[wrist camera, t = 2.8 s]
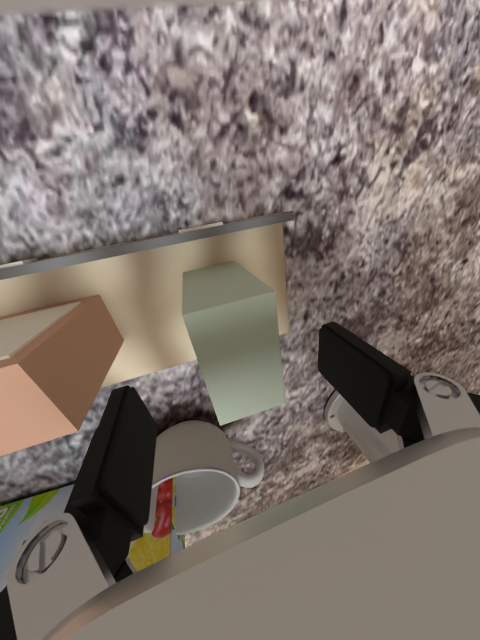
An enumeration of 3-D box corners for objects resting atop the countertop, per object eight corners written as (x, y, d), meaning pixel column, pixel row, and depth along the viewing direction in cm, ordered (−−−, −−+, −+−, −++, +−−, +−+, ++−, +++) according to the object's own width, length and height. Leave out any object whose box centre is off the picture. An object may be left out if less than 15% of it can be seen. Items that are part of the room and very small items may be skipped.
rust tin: (-16, 319, 15) (-246, 428, 7) (98, 293, 16) (15, 361, 8) (26, 366, 17) (-112, 491, 9) (124, 340, 18) (78, 431, 10)
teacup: (146, 466, 28) (133, 549, 21) (143, 410, 23) (126, 489, 16) (241, 451, 32) (258, 516, 25) (254, 401, 27) (279, 462, 20)
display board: (275, 210, 18) (293, 208, 15) (284, 327, 23) (298, 341, 21) (-54, 274, 14) (-113, 287, 11) (51, 394, 20) (30, 422, 17)
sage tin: (235, 260, 17) (278, 290, 10) (248, 336, 21) (287, 402, 13) (182, 272, 17) (181, 315, 9) (206, 348, 20) (220, 426, 13)
